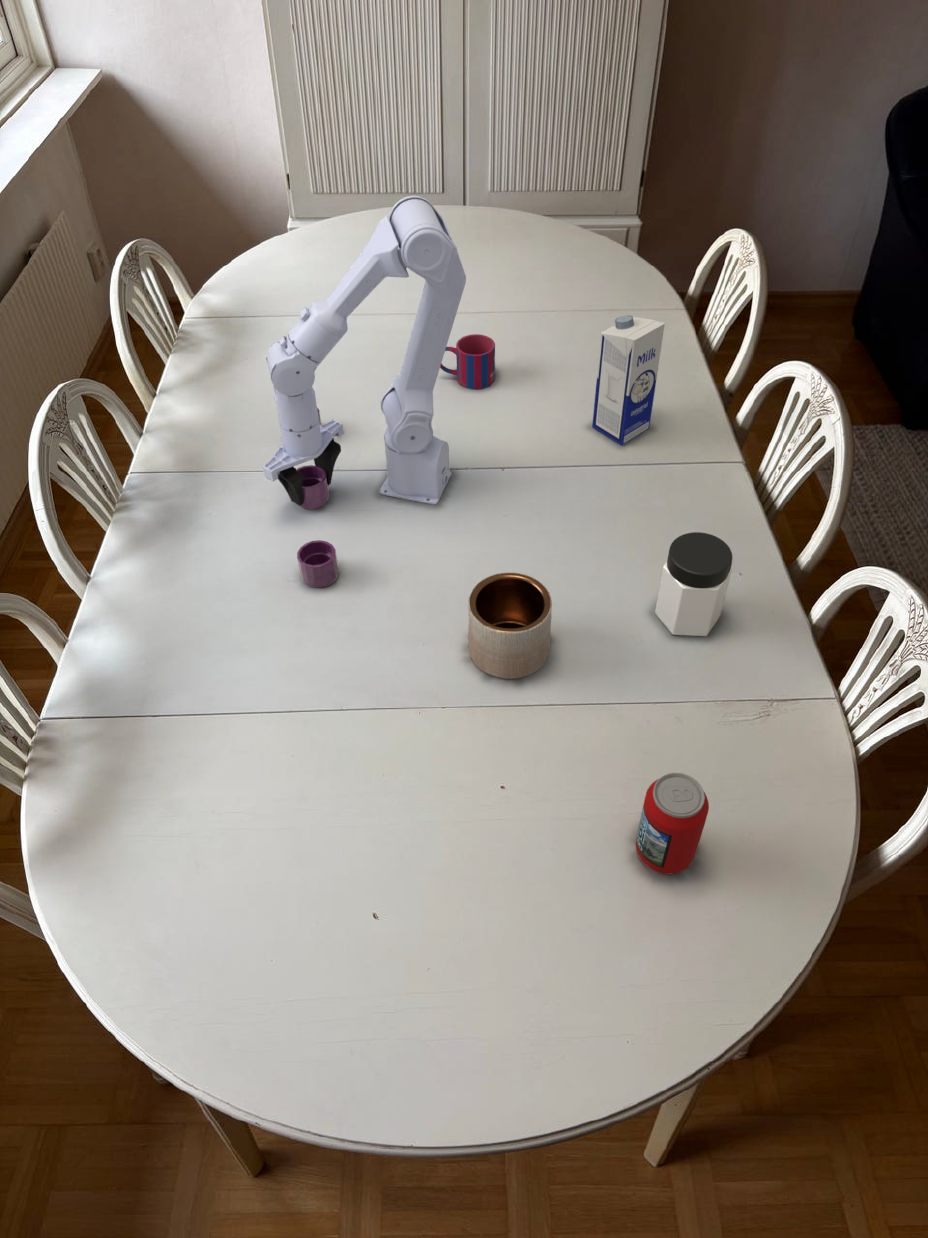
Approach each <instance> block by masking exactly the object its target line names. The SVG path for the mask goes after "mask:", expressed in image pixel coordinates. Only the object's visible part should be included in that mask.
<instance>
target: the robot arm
mask: <svg viewBox="0 0 928 1238" xmlns="http://www.w3.org/2000/svg"><path fill="white" fill-rule="evenodd" d="M407 269H408V270H410V271H411V272H412V273H414V274H416V275H418V276H419V277H421V278H423V280H425V281H424V285H423V289H422V292H421V295H420V300H419V303H418V307H417V310H416V313H415V318H414V322H413V324H412V328H411V331H410V337H409V340H408V342H407V343H408V344H407V347H406V351H405V354H404V358H403V362H402V365H401V369H400V373H399V374H398V375H396V376H394V377H393V378H392V382H391V384H390V386H389V388H388V389H387V390H386V391H385V392H384V393H383V395H382V396H381V399H380V410H381V413H382V414H383V416H384V418H385V422H386V425H387V426H386V429H385V431H384V435H383V440H384V441H383V442H384V452H385V462H386V471H387V477H386V478H385V480H384V482H383V484H382V485H381V487H380V489H379V494H380V495H381V496H382V495H383V496H388V497H393V498H397V499H402V500H408V501H415V502H418V503H424V504H429V505H434V506H435V505H437V504H438V503H439V501H440V499H441V497H442V495H443V492H445V488H446V486H447V484H448V482H449V480H450V478H451V476H452V472H451V471H450V470H451V468H450V447H449V443H448V441H445V440H443V439H440V438H438V437H437V436H435V435H434V430H433V426H432V421H433V418H434V395H433V394H434V393H433V392H434V388H435V385H436V382H437V379H438V375H439V372H440V369H441V368H440V366H441V363H442V362H443V360H444V359H443V358H444V356H445V353H446V351H445V349H446V347H448V346H447V345H448V342H449V339H450V336H451V333H452V329H453V325H454V323H455V319H456V316H457V312H458V310H459V306H460V303H461V300H462V296H463V293H464V289H465V286H466V282H467V276H466V273H465V272H466V271H465V269H464V267H463V264H462V261H461V258H460V255H459V252H458V247H457V245H456V243H455V242H454V240H453V238H452V235H451V234H450V231H449V229H448V227H447V226H446V222H445V220H444V218H443V216H442V215H441V213H439V211H438V210H437V209H436V208H435V207H434V205H433V204H432V203H431V202H430V201H429V200H428V199H427V198H424V197H423V196H419V195H408V196H404V197H403V198H401V199H399V200H398V201H397V202H395V204H394V205H393V206H392V208H391V209H390V212H389V215H387V214H386V215H385V216H384V217H383V218H382V219H381V220H379V222H378V224H377V226H376V228H375V230H374V231H373V233H372V236H371V238H370V240H368V243H367V244H366V245H365V247H364V248H363V249H362V251H361V252H360V254H359V255H358V257H357V258H356V259H355V261H354V262H353V264H352V265H351V266H350V268H349V269H348V270H347V272H346V273H345V275H344V276H343V277H342V279H341V280H340V281H339V283H338V284H337V286H336V287H335V288H334V290H333V292H332V293H331V294H330V295H329V297H328V298H326V299H319V300H315V301H313V302H312V303H311V305H310V306H309V307H306V306H304V307H303V308H302V310H301V311H300V312H299V317H300V318H299V320H297V322H296V323H295V325H294V326H293V327H292V328H291V330H290V331H289V332H288V333H287V335H285V336H284V335H283V336H282V337H280V339H279V340H277V341H276V342H274V343H273V344H272V345H271V346H270V348H269V349H268V351H267V353H266V354H267V356H266V357H265V360H266V363H267V365H268V370H269V375H270V380H271V383H272V387H273V392H274V402H275V407H276V413H277V418H278V423H279V428H280V433H281V437H280V440H281V442H282V444H281V445H280V446H279V447H278V449H277V450H276V452H275V453H274V454H273V455H272V457H271V458H270V459H269V460H268V461H267V462H266V463H264V465H262V470H263V471H262V472H263V475H264V477H265V478H266V479H268V480H270V481H272V482H276V481H277V480H278V481H279V482H280V484H281V485H282V487H283V488H284V490H285V491H286V493H287V495H288V497H289V500H290V501H291V502H292V503H294V504H296V505H297V506H299V507H301V505H302V504H303V493H302V482H303V478H304V475H303V474H301V473H299V472H297V471H296V469H297V468H296V467H295V466H299V465H301V464H305V463H307V462H309V461H312V460H313V462H314V466H318V467H320V468H322V469H324V471H325V472H326V476H327V482H328V487H329V486H330V485H331V484H332V480H333V479H332V478H333V473H334V468H335V465H336V462H337V460H338V457H339V455H340V453H342V447H341V444H340V443H338V442H337V441H335V438H334V437H338V438H339V437H341V436H343V435H344V425H343V423H341V422H340V421H338V420H336V419H334V418H333V419H331V420H329V421H328V422H325V423H323V424H322V423H321V424H322V425H320V423H319V416H318V410H317V408H318V405H317V398H316V391H315V389H314V387H313V386H314V384H315V381H316V380H315V379H316V375H315V372H316V370H317V369H318V366H320V364H321V363H323V361H324V360H325V359H326V357H327V356H328V355H329V354H330V353H331V351H332V350H333V349H334V347H336V345H337V344H338V343H339V342H340V341H341V339H342V338H343V337H344V336H345V335H346V334H347V332H348V329H349V328H348V317H349V316H350V315H351V314H352V313H353V312H354V311H355V310H356V309H357V308H358V307H359V306H360V305H361V304H362V303H363V302H364V300H365V299H366V298H367V297H368V296H369V295H370V294H371V293H372V292H373V291H375V289H376V288H377V286H378V285H380V283H381V282H382V281H384V279H385V278H405V279H406V278H409V277H410V274H409V272H408V270H407Z"/></svg>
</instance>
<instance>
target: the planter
mask: <svg viewBox="0 0 928 1238" xmlns="http://www.w3.org/2000/svg"><path fill="white" fill-rule="evenodd" d="M467 605H468V606H467V607H468V651H469V655H470V659H471V660H472V662H473V663H474V664H475V665H476V667H477V668H478V669H480V670H481V671H483V672H484V673H486V674H487V675H490V676H493V677H495V678H499V679H505V680H506V679H507V680H508V679H511V680H513V679H520V678H525V677H527V676H529V675H532V674H533V673H536V672H537V671H539V669H540V668H541V667H542V666H544V664H545V663H546V661H547V659H548V657H549V654H550V650H551V649H550V647H551V627H552V626H551V625H552V612H553V611H552V609H553V608H552V607H553V602H552V595H551V594H550V591H549V590H548V588H547V586H545V584H543V583H542V582H541V581H540V580H538V579H536V578H534V577H532V576H530V575H528V574H524V573H520V572H499V573H495V574H491V575H489V576H487V577H485V578H483V579H482V580H480V581H479V582H478V583H476V585H474V587H473V588H472V589H471V591H470V593H469V596H468V603H467Z"/></svg>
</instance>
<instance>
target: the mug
mask: <svg viewBox="0 0 928 1238" xmlns="http://www.w3.org/2000/svg"><path fill="white" fill-rule="evenodd" d="M445 352H451V353H453V354H454V355H455V358H456V369H451V368H448V367H447V366H445V365H444V364H443V363H442V362H441V366H440V369H441V370H442V371H443V372H444V373H446V374H449V375H453V376H456V379H457V382H458V384H459V385H460V386H462V387H464V388H467V389H472V390H481V389H485V388H487V387H489V386H491V385H492V384H493V383H494V382H495V378H496V342H495V341H494V339H493V338H492V337H489V336H487V335H484V334H479V333H477V334H476V333H474V334H468V335H465V336H462V337H461V338H459V339H458V340H457V342H456V344H455V347H453V346H446V349H445Z"/></svg>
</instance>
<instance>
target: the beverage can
mask: <svg viewBox="0 0 928 1238" xmlns="http://www.w3.org/2000/svg"><path fill="white" fill-rule="evenodd" d="M709 809H710V803H709V800H708V797H707V794H706V792H705V791H704V788H703V787H702V785H701V784H700V782H699V781H698V780H697V779H695V778H694V777H692V776H691V775H688V774H686V773H684V772H683V773H682V772H670V773H669V772H668V773H666V774H664V775H662V776H661V777H660V778H658V779H656V780H654V781H653V782H652V783H651V784H650V785H649V787H648V788H647V789H646V792H645V796H644V800H643V804H642V808H641V814H640V817H639V823H638V828H637V834H636V839H635V849H636V853H637V856H638V858H639V859H640V861H641V862H642V863H643V864H644V865H645V866H646V867H647V868H649V869H651V870H652V871H654V872H656V873H660V874H664V875H672V874H679V873H681V872H683V871H685V870H686V869H687V868H689V866H690V865H691V864H692V863H693V861H694V859H695V857H696V853H697V850H698V848H699V845H700V841H701V837H702V834H703V831H704V828H705V825H706V821H707V817H708V814H709Z"/></svg>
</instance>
